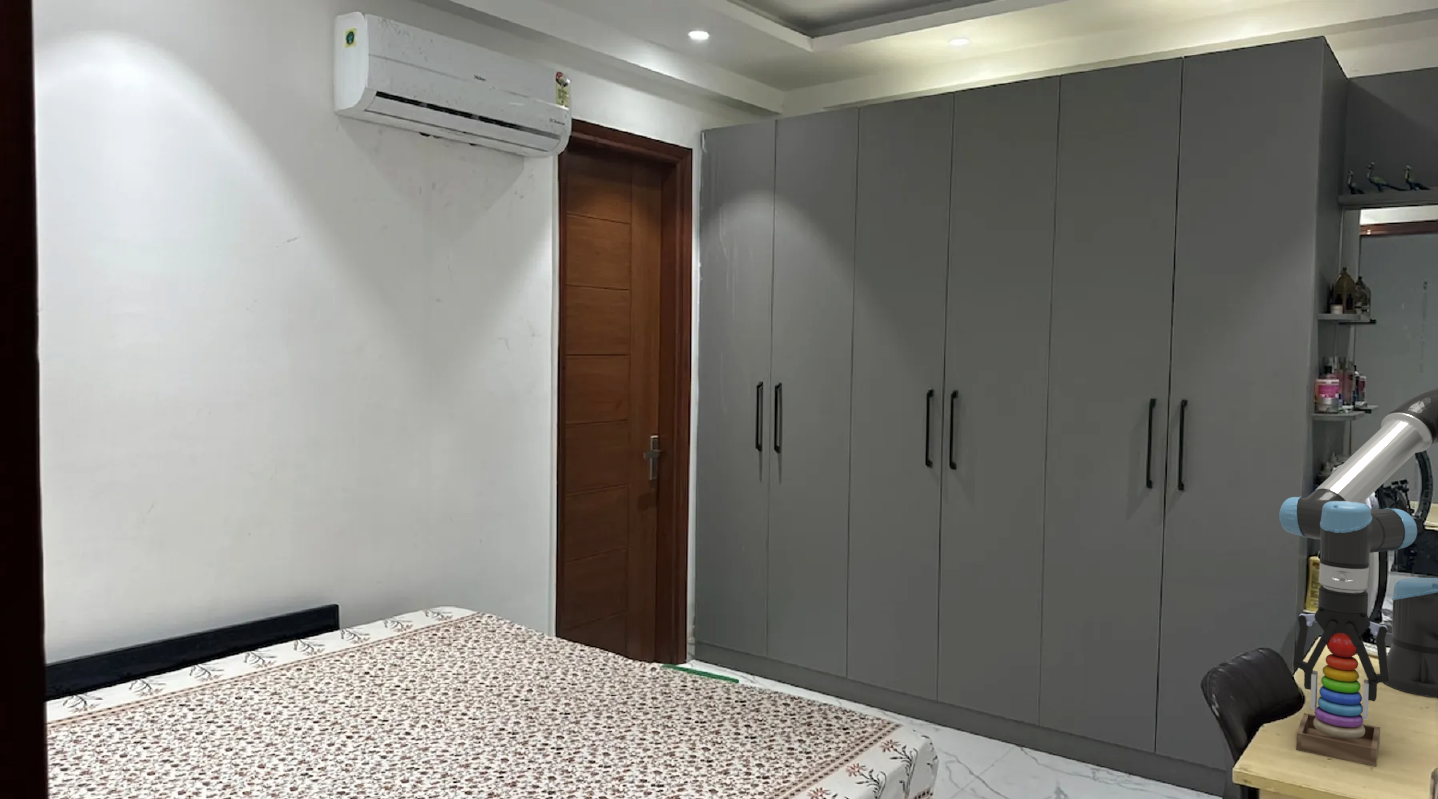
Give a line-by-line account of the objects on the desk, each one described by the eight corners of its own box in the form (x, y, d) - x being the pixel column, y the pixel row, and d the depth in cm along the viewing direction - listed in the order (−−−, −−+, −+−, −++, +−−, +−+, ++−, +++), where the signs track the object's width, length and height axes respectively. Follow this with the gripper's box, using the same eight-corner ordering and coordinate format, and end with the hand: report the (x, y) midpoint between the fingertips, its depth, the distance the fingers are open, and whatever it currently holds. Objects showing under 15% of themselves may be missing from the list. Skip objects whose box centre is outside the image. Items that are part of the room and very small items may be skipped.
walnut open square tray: (1303, 728, 186) (1304, 712, 185) (1379, 743, 178) (1380, 727, 178) (1296, 749, 176) (1296, 733, 176) (1375, 766, 169) (1376, 749, 169)
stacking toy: (1373, 742, 172) (1377, 638, 171) (1323, 738, 174) (1326, 635, 173) (1353, 725, 180) (1357, 625, 179) (1306, 722, 181) (1309, 623, 180)
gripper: (1276, 583, 179) (1272, 706, 180) (1411, 600, 167) (1406, 731, 168) (1281, 576, 185) (1278, 694, 186) (1412, 591, 173) (1407, 718, 174)
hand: (1339, 712), depth 177 cm, fingers closed on stacking toy, 7 cm apart
